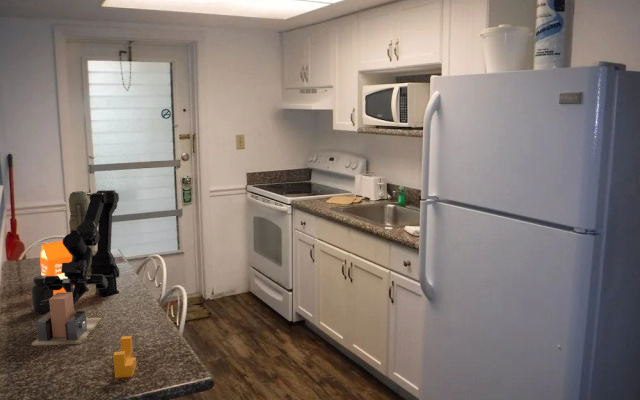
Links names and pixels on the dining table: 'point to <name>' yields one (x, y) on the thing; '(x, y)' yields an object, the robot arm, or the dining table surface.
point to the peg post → (61, 312)
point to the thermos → (78, 213)
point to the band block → (73, 326)
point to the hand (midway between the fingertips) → (70, 306)
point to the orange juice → (54, 260)
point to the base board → (62, 340)
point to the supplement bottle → (41, 295)
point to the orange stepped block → (124, 359)
